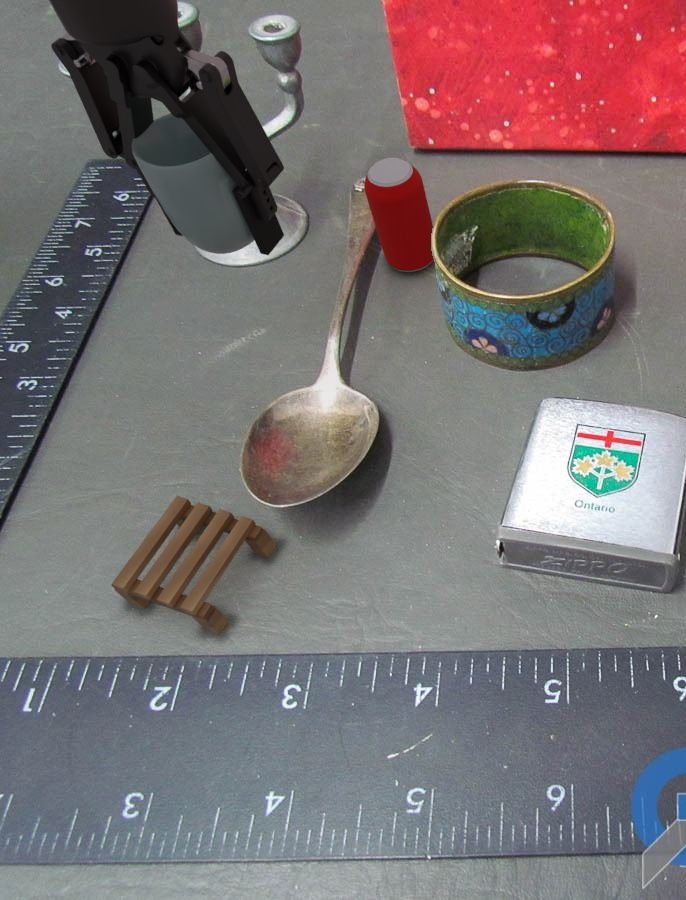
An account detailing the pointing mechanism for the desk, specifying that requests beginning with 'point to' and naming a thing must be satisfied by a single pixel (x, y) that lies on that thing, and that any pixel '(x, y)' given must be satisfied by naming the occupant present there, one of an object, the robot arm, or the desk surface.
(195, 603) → the rack
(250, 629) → the desk surface
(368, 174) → the beverage can
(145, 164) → the cup
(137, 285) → the desk surface
